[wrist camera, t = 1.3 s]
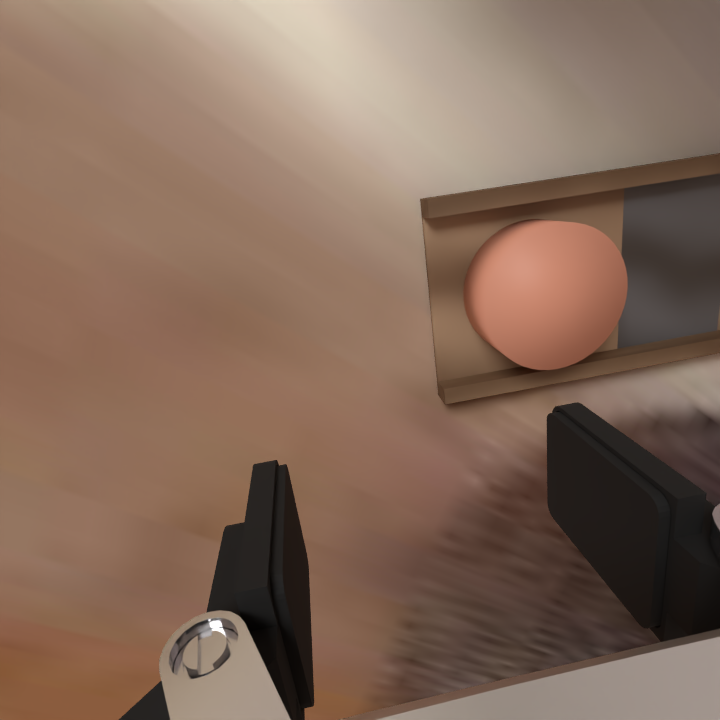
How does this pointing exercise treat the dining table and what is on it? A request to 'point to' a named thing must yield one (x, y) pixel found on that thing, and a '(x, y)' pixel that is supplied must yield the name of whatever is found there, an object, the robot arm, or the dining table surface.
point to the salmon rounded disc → (546, 292)
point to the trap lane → (632, 238)
